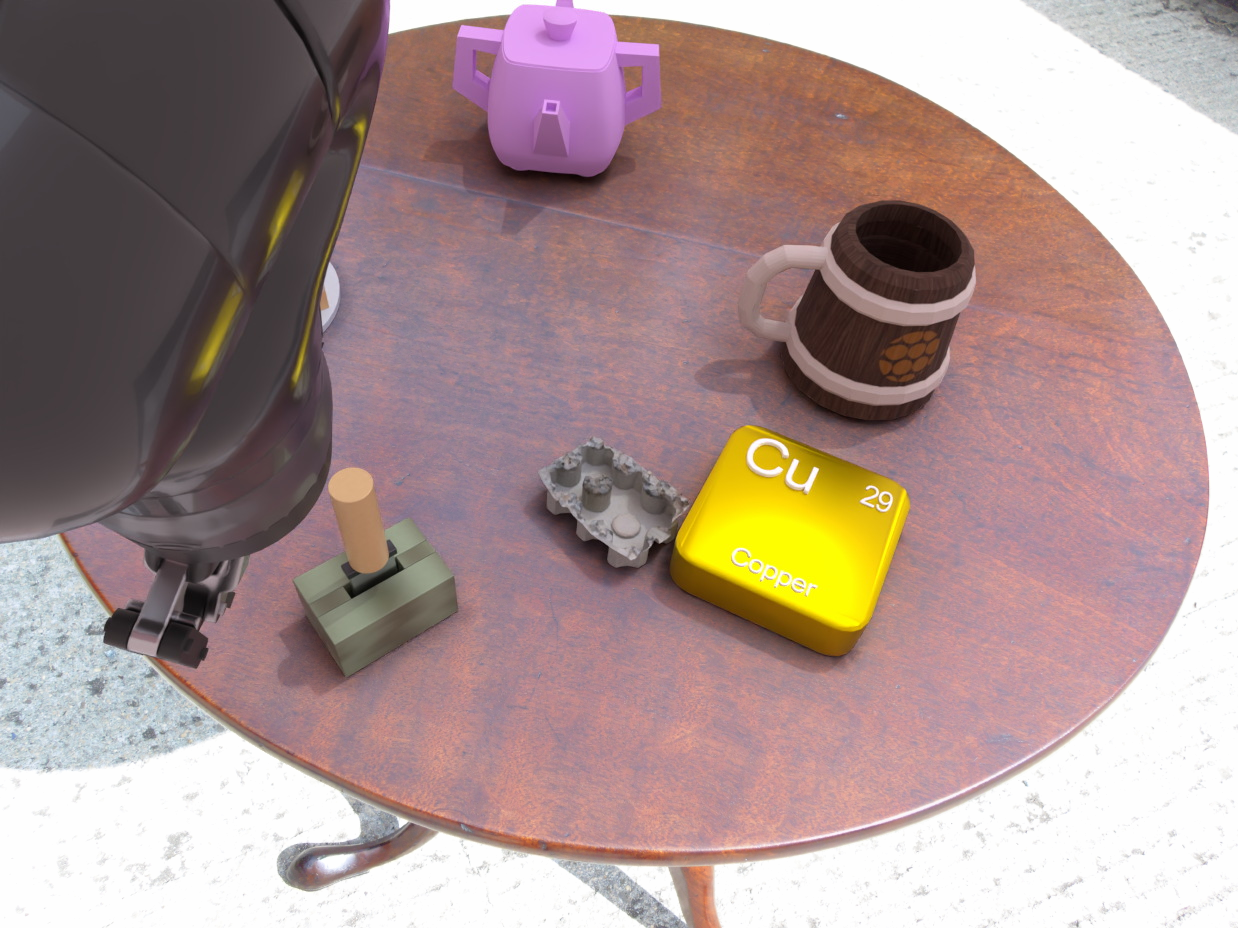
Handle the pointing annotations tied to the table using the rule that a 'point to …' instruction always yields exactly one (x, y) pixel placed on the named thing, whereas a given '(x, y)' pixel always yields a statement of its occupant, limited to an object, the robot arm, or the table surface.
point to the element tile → (791, 539)
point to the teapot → (556, 87)
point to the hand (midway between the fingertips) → (243, 502)
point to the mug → (870, 308)
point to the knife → (361, 530)
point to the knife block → (378, 601)
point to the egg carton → (613, 501)
